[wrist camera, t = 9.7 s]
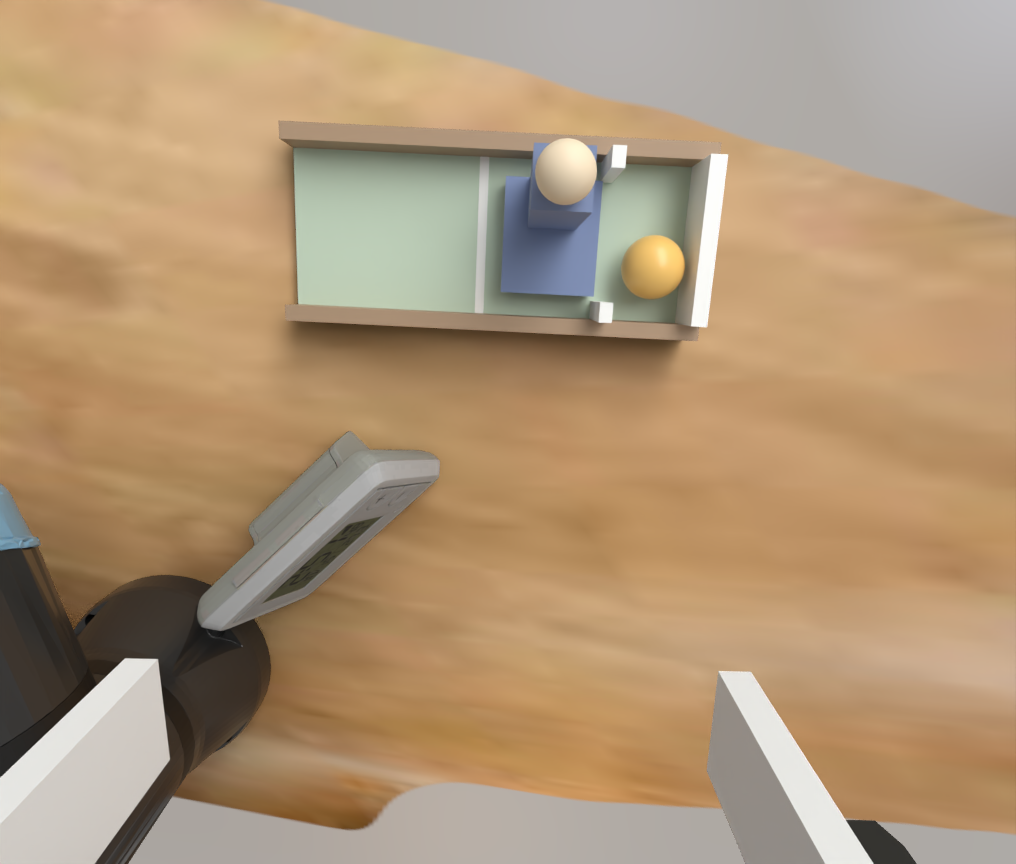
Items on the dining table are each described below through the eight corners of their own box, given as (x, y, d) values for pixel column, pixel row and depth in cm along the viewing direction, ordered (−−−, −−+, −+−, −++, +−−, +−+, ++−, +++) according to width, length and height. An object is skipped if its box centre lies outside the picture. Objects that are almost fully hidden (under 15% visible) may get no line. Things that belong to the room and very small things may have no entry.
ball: (684, 301, 37) (677, 300, 41) (692, 233, 36) (684, 238, 40) (618, 298, 38) (617, 297, 41) (624, 230, 37) (623, 236, 41)
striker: (501, 291, 41) (493, 292, 27) (506, 181, 39) (500, 125, 26) (589, 296, 41) (625, 299, 27) (598, 186, 39) (641, 132, 26)
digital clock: (296, 597, 48) (235, 681, 38) (227, 505, 46) (143, 567, 36) (468, 497, 46) (454, 558, 35) (402, 397, 44) (368, 430, 34)
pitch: (303, 318, 43) (269, 322, 37) (298, 134, 40) (260, 108, 34) (683, 337, 43) (709, 344, 37) (704, 154, 40) (736, 131, 34)
